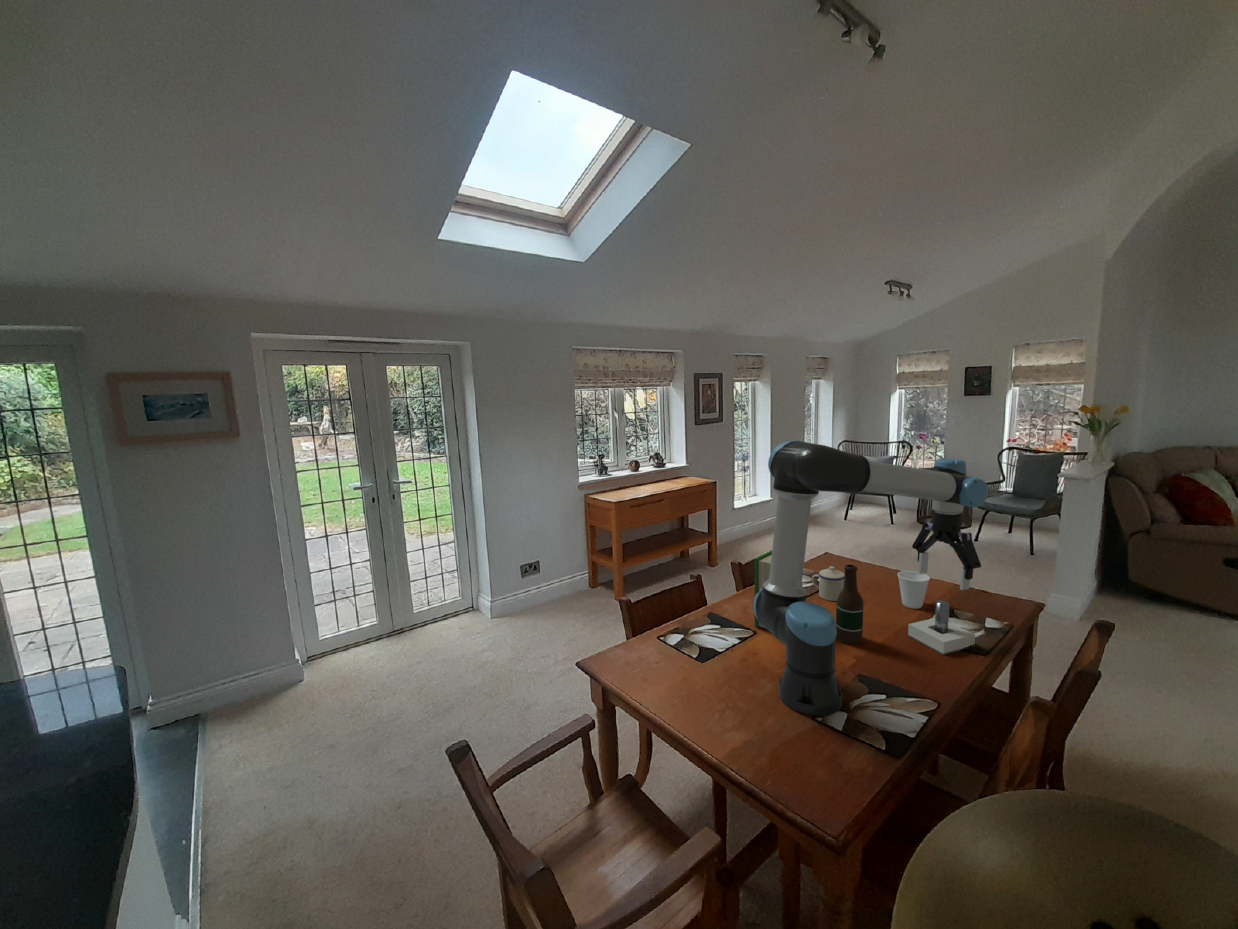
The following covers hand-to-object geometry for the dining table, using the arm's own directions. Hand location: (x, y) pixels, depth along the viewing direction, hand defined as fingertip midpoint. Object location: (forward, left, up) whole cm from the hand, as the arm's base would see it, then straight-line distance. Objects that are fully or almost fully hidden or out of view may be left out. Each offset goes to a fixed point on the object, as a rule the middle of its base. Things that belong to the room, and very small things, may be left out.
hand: (942, 580), depth 147 cm
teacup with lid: (-8, +40, -20) cm, 45 cm away
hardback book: (-37, +29, -20) cm, 51 cm away
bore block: (0, 0, -19) cm, 19 cm away
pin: (0, 0, -19) cm, 19 cm away
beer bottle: (-24, +11, -20) cm, 33 cm away
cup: (+13, +22, -20) cm, 32 cm away
